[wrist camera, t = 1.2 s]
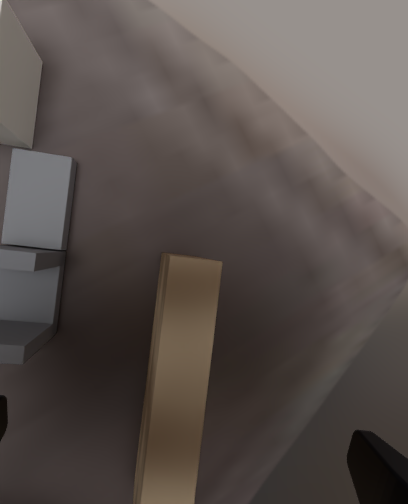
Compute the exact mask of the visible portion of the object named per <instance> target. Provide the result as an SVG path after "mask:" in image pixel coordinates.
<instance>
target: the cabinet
mask: <svg viewBox="0 0 408 504" xmlns="http://www.w3.org/2000/svg"><path fill="white" fill-rule="evenodd" d="M42 64H43V62H42V60H41V59H40V57H39V55H38V53H37V52H36V50H35V48H34V46H33V45H32V43H31V41H30V40H29V38H28V36H27V34H26V33H25V31H24V29H23V27H22V26H21V24H20V22H19V20H18V19H17V17H16V15H15V14H14V12H13V10H12V8H11V7H10V5H9V3H8V1H7V0H0V144H4V145H10V146H17V147H23V148H29V149H32V145H33V137H34V129H35V121H36V113H37V104H38V96H39V88H40V80H41V72H42ZM76 167H77V163H76V161H75V160H74V159H73V158H72V157H66V156H60V155H54V154H47V153H41V152H35V151H29V150H22V149H16V148H13V151H12V159H11V167H10V175H9V183H8V191H7V199H6V208H5V216H4V224H3V232H2V240H1V243H3V244H12V245H21V246H29V247H21V246H12V245H0V363H1V364H20V365H23V364H24V363H25V362H26V361H27V360H28V359H29V358H30V357H31V356H32V355H33V354H35V353H36V352H37V351H38V350H39V349H40V348H41V347H42V346H43V345H44V344H45V343H46V342H47V341H49V340H50V339H51V338H52V337H53V336H54V335H55V334H56V332H57V323H58V315H59V307H60V299H61V291H62V282H63V274H64V266H65V258H66V251H57V250H67V241H68V233H69V225H70V217H71V208H72V200H73V192H74V184H75V176H76ZM30 247H38V248H30ZM39 248H47V249H39ZM48 249H56V250H48Z"/></svg>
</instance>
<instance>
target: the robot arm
mask: <svg viewBox="0 0 408 504" xmlns="http://www.w3.org/2000/svg"><path fill="white" fill-rule="evenodd" d="M7 424H8V416H7V398H6V397H5V396H4V395H0V441H1V439H2V437H3V436H4V434H5V431H6V428H7ZM347 464H348V468H349V471H350V474H351V477H352V480H353V484H354V487H355V490H356V493H357V497H358V500H359V503H360V504H408V459H407V458H406V457H404V456H403V455H402V454H400V453H399V452H398V451H397V450H395V449H394V448H393V447H391V446H390V445H389V444H388V443H386V442H385V441H384V440H382V439H381V438H380V437H378V436H377V435H376V434H374V433H373V432H371V431H365V430H355V431H354V433H353V435H352V439H351V442H350V446H349V450H348V453H347Z"/></svg>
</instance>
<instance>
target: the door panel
mask: <svg viewBox="0 0 408 504" xmlns="http://www.w3.org/2000/svg"><path fill="white" fill-rule="evenodd" d="M222 263H223V262H221V261H216V260H211V259H206V258H201V257H196V256H188V255H180V254H171V253H163V252H162V255H161V263H160V272H159V280H158V288H157V297H156V305H155V313H154V321H153V330H152V338H151V346H150V355H149V363H148V371H147V380H146V388H145V396H144V405H143V413H142V421H141V430H140V438H139V446H138V455H137V463H136V471H135V480H134V496H133V504H194V499H195V490H196V482H197V473H198V465H199V457H200V448H201V440H202V431H203V423H204V415H205V406H206V398H207V389H208V381H209V372H210V364H211V356H212V347H213V339H214V330H215V322H216V314H217V305H218V297H219V288H220V280H221V272H222Z"/></svg>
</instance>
